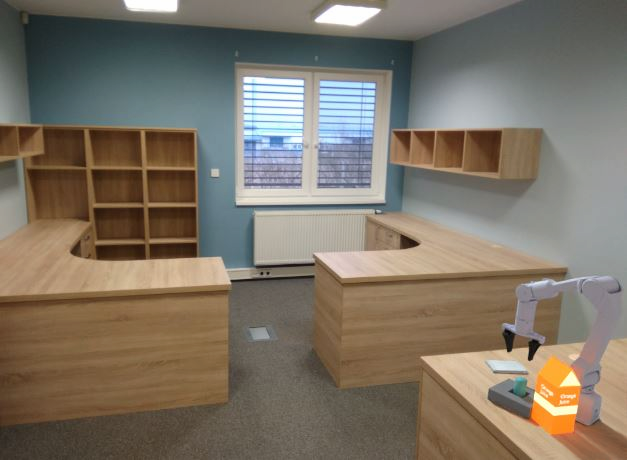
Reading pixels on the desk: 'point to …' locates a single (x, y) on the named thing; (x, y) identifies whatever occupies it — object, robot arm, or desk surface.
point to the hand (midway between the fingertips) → (519, 355)
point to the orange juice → (556, 397)
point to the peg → (520, 387)
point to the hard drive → (505, 366)
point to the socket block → (512, 398)
